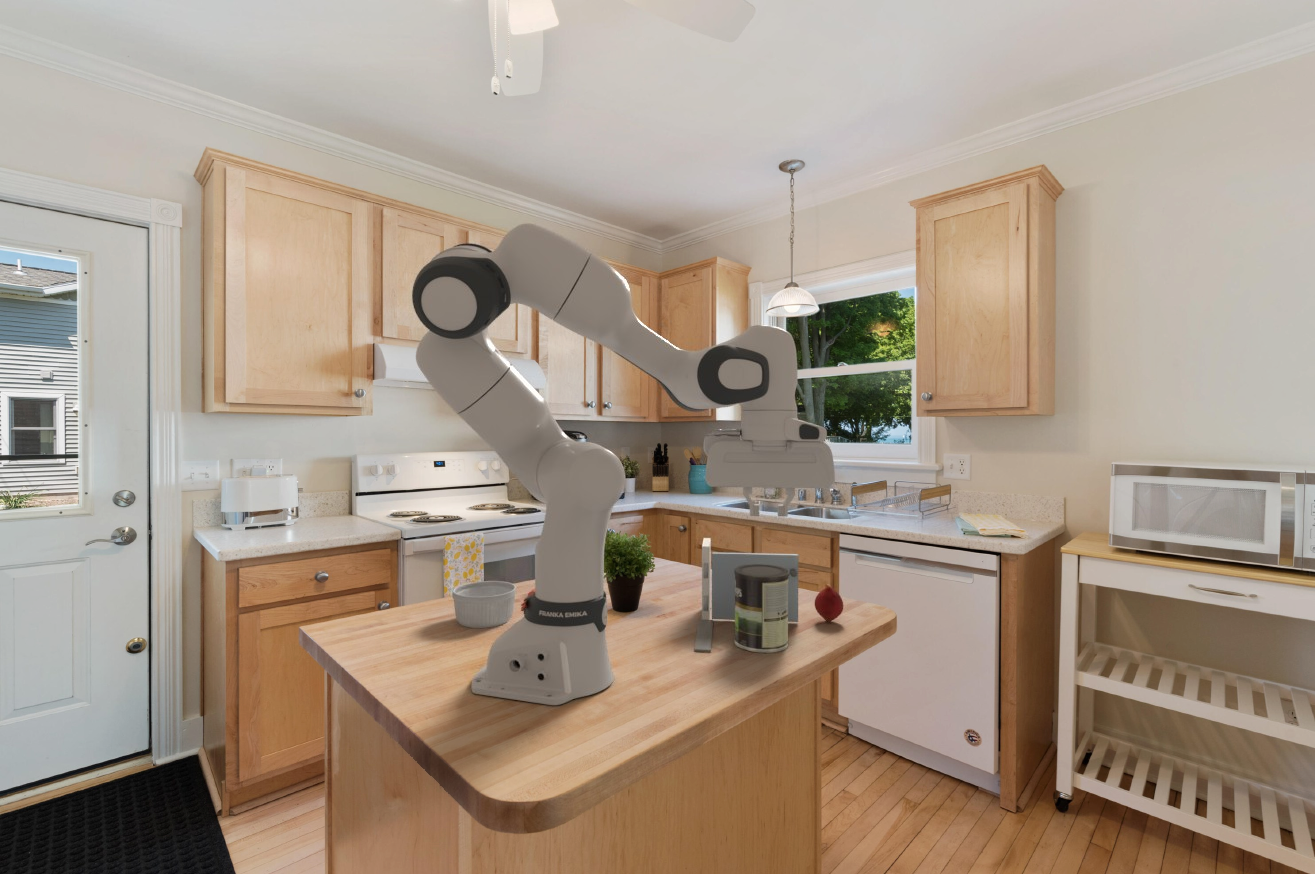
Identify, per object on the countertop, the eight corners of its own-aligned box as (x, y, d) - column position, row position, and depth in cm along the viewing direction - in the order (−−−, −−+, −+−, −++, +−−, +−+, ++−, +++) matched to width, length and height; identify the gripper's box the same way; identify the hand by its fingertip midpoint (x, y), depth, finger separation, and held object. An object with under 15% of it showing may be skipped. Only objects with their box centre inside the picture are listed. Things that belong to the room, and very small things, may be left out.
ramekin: (526, 623, 131) (525, 590, 131) (463, 634, 123) (463, 600, 123) (503, 608, 142) (503, 577, 142) (444, 618, 134) (444, 586, 134)
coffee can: (733, 651, 114) (733, 575, 114) (734, 633, 124) (734, 563, 124) (790, 654, 112) (791, 577, 112) (787, 635, 123) (787, 564, 122)
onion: (840, 617, 134) (840, 581, 134) (845, 626, 128) (845, 588, 128) (812, 617, 135) (812, 580, 134) (817, 625, 129) (817, 587, 129)
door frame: (694, 651, 114) (694, 564, 114) (700, 607, 142) (700, 537, 141) (710, 651, 114) (710, 565, 113) (713, 608, 141) (713, 538, 141)
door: (711, 621, 130) (711, 554, 130) (711, 617, 133) (712, 552, 133) (798, 624, 128) (799, 556, 128) (797, 620, 131) (797, 554, 131)
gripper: (702, 429, 97) (702, 517, 97) (837, 429, 94) (836, 519, 95) (704, 429, 103) (704, 512, 103) (830, 429, 101) (829, 514, 101)
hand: (768, 515), depth 99 cm, fingers open, 3 cm apart
